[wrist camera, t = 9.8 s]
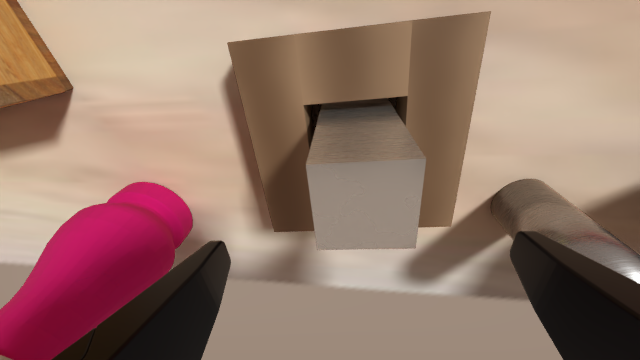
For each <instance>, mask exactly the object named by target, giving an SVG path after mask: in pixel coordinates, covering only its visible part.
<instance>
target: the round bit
mask: <svg viewBox="0 0 640 360" xmlns="http://www.w3.org/2000/svg"><path fill="white" fill-rule="evenodd" d="M491 212H492V214H493V216H494V217H495V218H496V220H497V221H498V222H499V223H500V225H501V226H502V227H503V228H504V230H505V231H506V232H507V233H508V234H509V236H510V237H511V238H512V239H513V241H514V238H515V235H516V233H517V232H519V231H531V230H532V231H537V232H539V233H541V234H543V235H545V236H547V237H549V238H551V239H552V240H554V241H556V242H558V243H560V244H562V245H564V246H566V247H568V248H570V249H572V250H574V251H576V252H578V253H580V254H582V255H584V256H586V257H588V258H590V259H592V260H594V261H596V262H598V263H600V264H602V265H604V266H606V267H608V268H610V269H612V270H614V271H616V272H618V273H620V274H622V275H624V276H626V277H628V278H630V279H632V280H634V281H635V282H637V283H639V284H640V255H638V254H637V253H636V252H634V251H633V250H632V249H631V248H629V247H628V246H627V245H625V244H624V243H623V242H621V241H620V240H619V239H617V238H616V237H615V236H614V235H612V234H611V233H610V232H608V231H607V230H606V229H604V228H603V227H602V226H600V225H599V224H598V223H597V222H595V221H594V220H593V219H591V218H590V217H589V216H587V215H586V214H585V213H583V212H582V211H581V210H580V209H578V208H577V207H576V206H574V205H573V204H572V203H570V202H569V201H568V200H566V199H565V198H564V197H562V196H561V195H560V194H559V193H557V192H556V191H555V190H553V189H552V188H551V187H549V186H548V185H547V184H545V183H544V182H542V181H540V180H536V179H523V180H519V181H515V182H513V183H511V184H509V185H507V186H505V187H504V188H502V189H501V190H500V191H499V192H498V193H497V194H496V195H495V197H494V198H493V200H492V203H491Z"/></svg>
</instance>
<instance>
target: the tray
mask: <svg viewBox="0 0 640 360" xmlns="http://www.w3.org/2000/svg"><path fill="white" fill-rule="evenodd" d="M71 89H73V86H72V85H71V83H70V81H69V80H68V78H67V77H66V75H65V74H64V72H63V71H62V69H61V67H60V66H59V64H58V63H57V61H56V60H55V58H54V57H53V55H52V54H51V52H50V51H49V49H48V48H47V46H46V44H45V43H44V41H43V40H42V38H41V37H40V35H39V34H38V32H37V31H36V29H35V28H34V26H33V25H32V23H31V21H30V20H29V18H28V17H27V15H26V14H25V12H24V11H23V9H22V8H21V6H20V5H19V3H18V2H17V0H0V108H3V107H7V106H11V105H15V104H19V103H23V102H27V101H31V100H35V99H39V98H43V97H47V96H51V95H55V94H60V93H64V92H65V91H68V90H71Z"/></svg>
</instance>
